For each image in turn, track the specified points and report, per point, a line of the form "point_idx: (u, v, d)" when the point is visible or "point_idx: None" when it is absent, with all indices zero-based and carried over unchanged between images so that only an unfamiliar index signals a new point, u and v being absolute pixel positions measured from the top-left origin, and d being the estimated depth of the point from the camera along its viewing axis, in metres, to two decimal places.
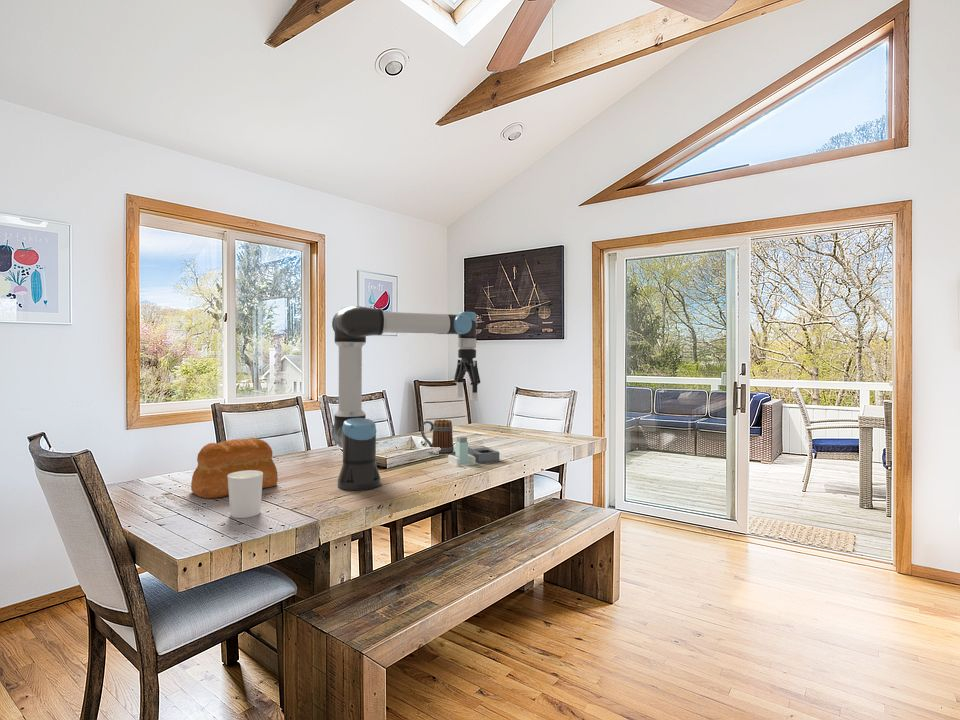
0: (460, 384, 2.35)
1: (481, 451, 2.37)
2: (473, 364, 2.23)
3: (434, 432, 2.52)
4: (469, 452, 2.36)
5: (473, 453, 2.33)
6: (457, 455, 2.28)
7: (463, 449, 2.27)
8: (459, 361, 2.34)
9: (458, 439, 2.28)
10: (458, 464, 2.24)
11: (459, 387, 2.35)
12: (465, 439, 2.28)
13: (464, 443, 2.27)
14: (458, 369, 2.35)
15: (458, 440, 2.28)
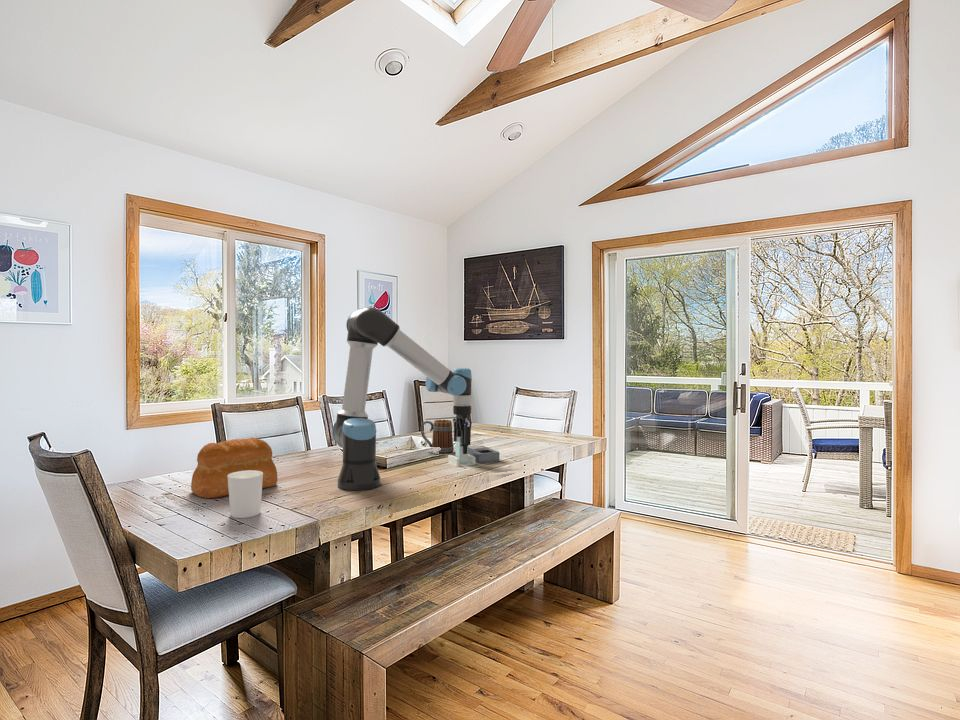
0: None
1: (481, 451, 2.37)
2: (467, 426, 2.23)
3: (434, 432, 2.52)
4: (469, 452, 2.36)
5: (473, 453, 2.33)
6: (457, 455, 2.28)
7: None
8: (454, 419, 2.33)
9: (458, 439, 2.28)
10: (458, 464, 2.24)
11: None
12: None
13: None
14: (455, 428, 2.33)
15: (458, 440, 2.28)
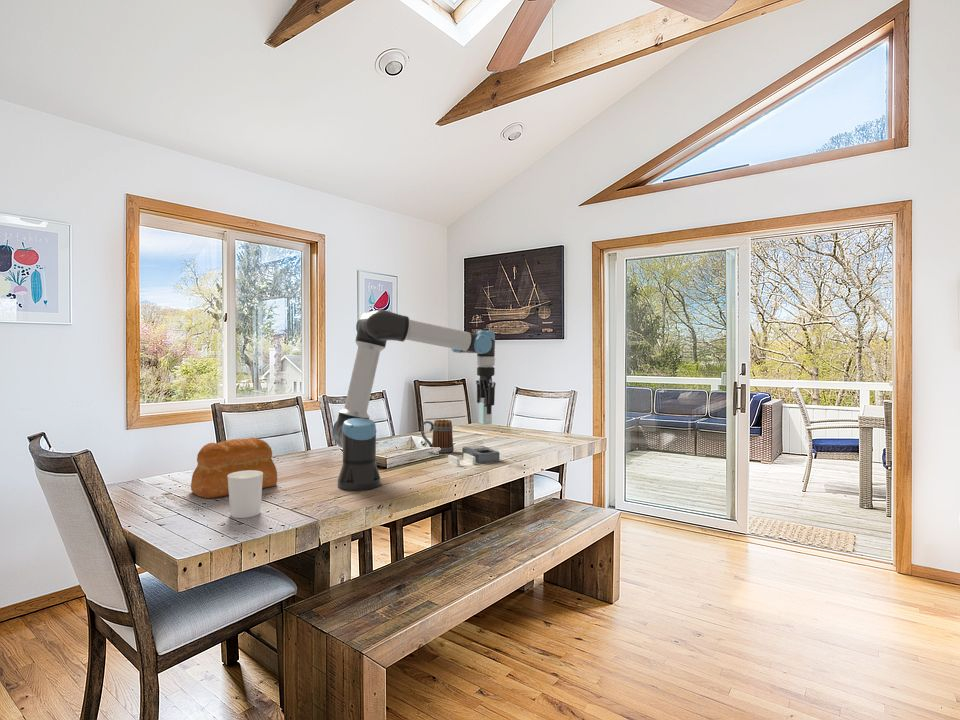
0: None
1: (481, 451, 2.37)
2: (491, 386, 2.28)
3: (434, 432, 2.52)
4: (469, 452, 2.36)
5: (473, 453, 2.33)
6: (481, 415, 2.33)
7: None
8: (478, 381, 2.38)
9: (482, 400, 2.33)
10: (458, 464, 2.24)
11: None
12: None
13: None
14: (478, 389, 2.37)
15: (482, 401, 2.33)
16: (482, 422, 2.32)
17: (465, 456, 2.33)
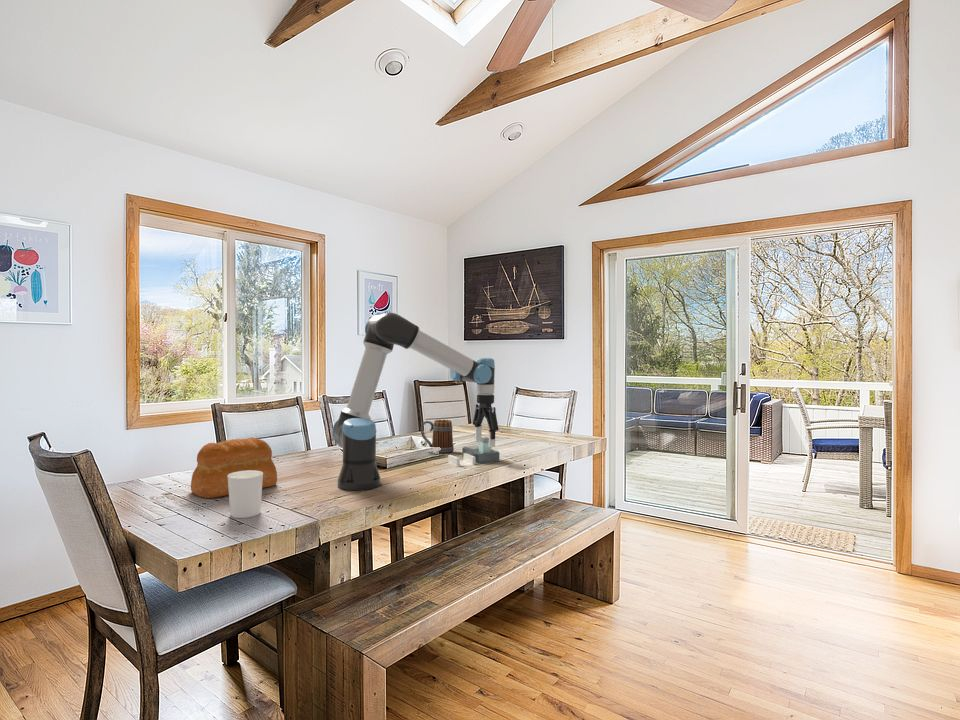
0: (479, 429, 2.39)
1: None
2: (492, 411, 2.27)
3: (434, 432, 2.52)
4: (469, 452, 2.36)
5: (473, 453, 2.33)
6: None
7: (486, 449, 2.32)
8: (477, 406, 2.38)
9: (481, 440, 2.33)
10: (458, 464, 2.24)
11: (478, 432, 2.39)
12: (488, 440, 2.33)
13: (487, 443, 2.33)
14: (476, 414, 2.39)
15: (481, 441, 2.33)
16: None
17: (465, 456, 2.33)
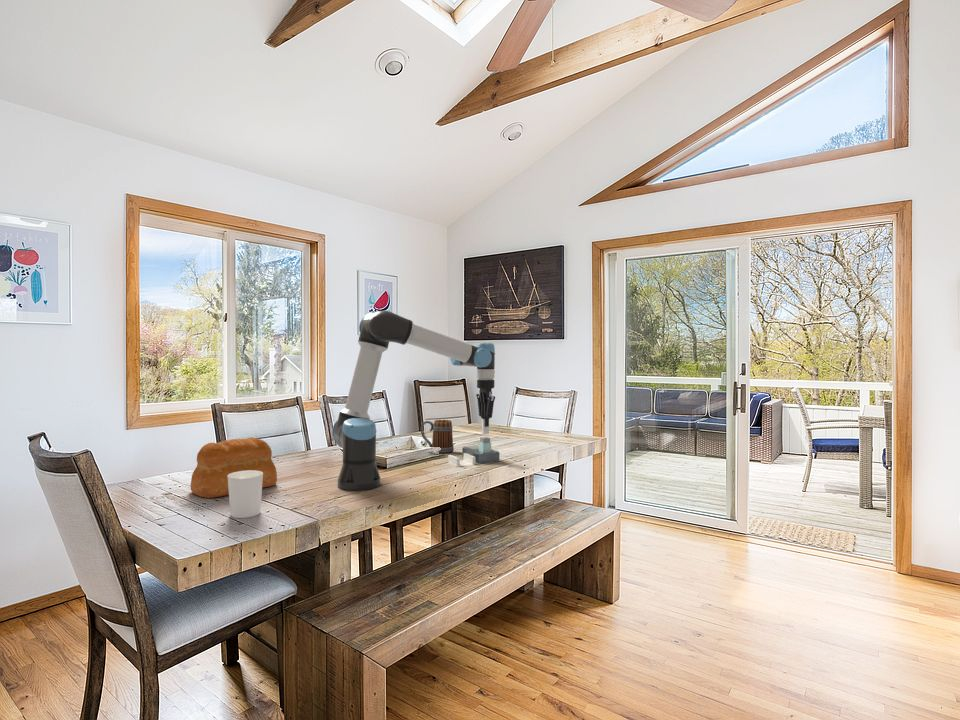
0: None
1: None
2: (490, 400, 2.28)
3: (434, 432, 2.52)
4: (469, 452, 2.36)
5: (473, 453, 2.33)
6: None
7: (486, 449, 2.32)
8: (478, 395, 2.38)
9: (481, 440, 2.33)
10: (458, 464, 2.24)
11: None
12: (488, 440, 2.33)
13: (487, 443, 2.33)
14: (479, 402, 2.36)
15: (481, 441, 2.33)
16: None
17: (465, 456, 2.33)
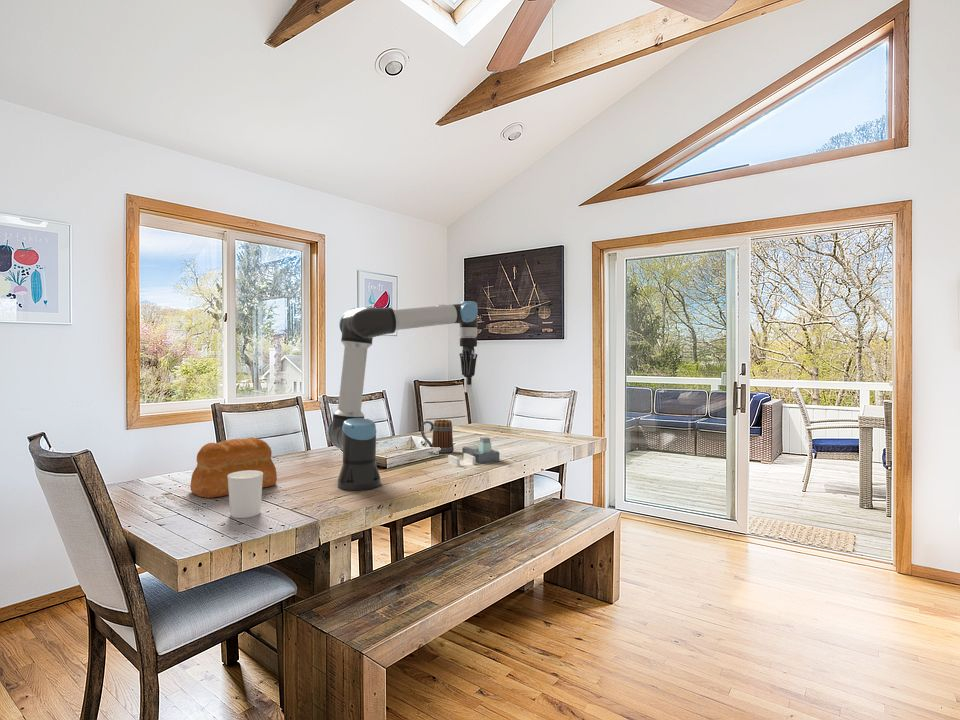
0: None
1: None
2: (473, 358, 2.29)
3: (434, 432, 2.52)
4: (469, 452, 2.36)
5: (473, 453, 2.33)
6: None
7: (486, 449, 2.32)
8: (461, 354, 2.39)
9: (481, 440, 2.33)
10: (458, 464, 2.24)
11: None
12: (488, 440, 2.33)
13: (487, 443, 2.33)
14: (462, 361, 2.38)
15: (481, 441, 2.33)
16: None
17: (465, 456, 2.33)
